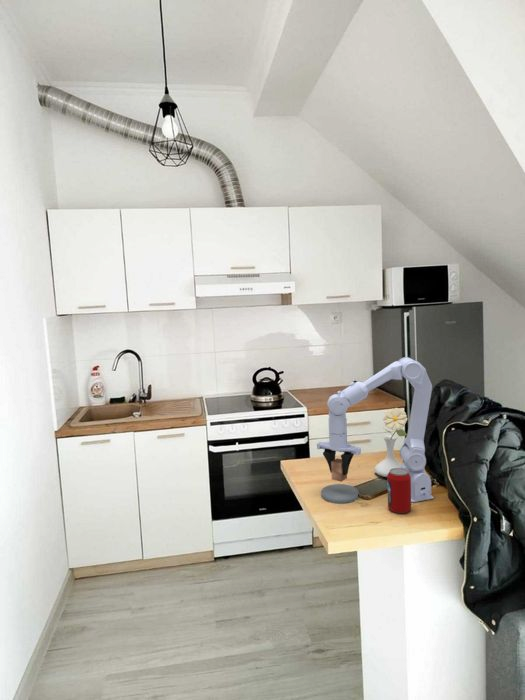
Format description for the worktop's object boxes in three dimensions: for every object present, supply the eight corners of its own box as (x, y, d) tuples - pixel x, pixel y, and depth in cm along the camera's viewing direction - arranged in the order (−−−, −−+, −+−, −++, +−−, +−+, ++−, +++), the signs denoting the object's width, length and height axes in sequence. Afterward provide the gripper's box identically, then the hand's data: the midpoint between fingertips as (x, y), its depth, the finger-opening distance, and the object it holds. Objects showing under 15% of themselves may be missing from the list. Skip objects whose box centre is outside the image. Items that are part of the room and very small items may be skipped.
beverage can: (393, 503, 148) (392, 465, 147) (414, 508, 144) (414, 469, 143) (384, 511, 143) (383, 472, 142) (405, 516, 139) (405, 476, 137)
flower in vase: (367, 474, 172) (366, 407, 170) (387, 466, 179) (386, 401, 177) (398, 484, 162) (396, 412, 160) (417, 476, 169) (417, 406, 167)
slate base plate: (365, 499, 151) (365, 495, 151) (330, 506, 148) (330, 501, 148) (348, 486, 163) (348, 482, 163) (315, 491, 159) (315, 487, 159)
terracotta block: (347, 478, 155) (346, 460, 154) (341, 481, 152) (340, 463, 152) (337, 475, 157) (337, 458, 157) (331, 479, 155) (331, 461, 154)
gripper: (364, 431, 152) (365, 472, 154) (323, 426, 160) (324, 465, 162) (355, 437, 147) (356, 480, 148) (313, 431, 155) (314, 472, 156)
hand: (339, 473), depth 155 cm, fingers closed on terracotta block, 4 cm apart
